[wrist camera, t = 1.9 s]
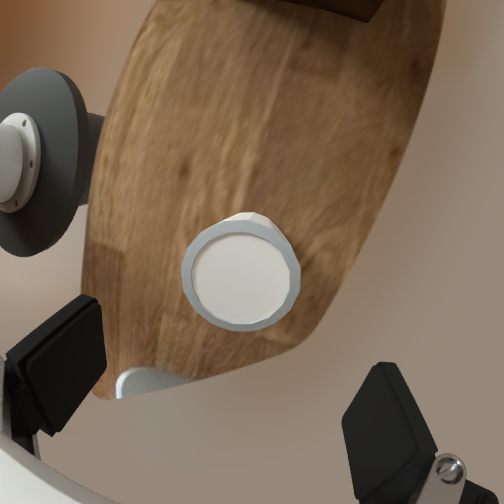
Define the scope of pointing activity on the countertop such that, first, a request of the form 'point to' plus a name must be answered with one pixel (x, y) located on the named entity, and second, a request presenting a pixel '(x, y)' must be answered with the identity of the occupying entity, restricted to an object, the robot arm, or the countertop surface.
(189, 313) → the countertop surface
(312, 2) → the tray
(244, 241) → the white cylinder
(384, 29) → the countertop surface
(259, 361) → the countertop surface
